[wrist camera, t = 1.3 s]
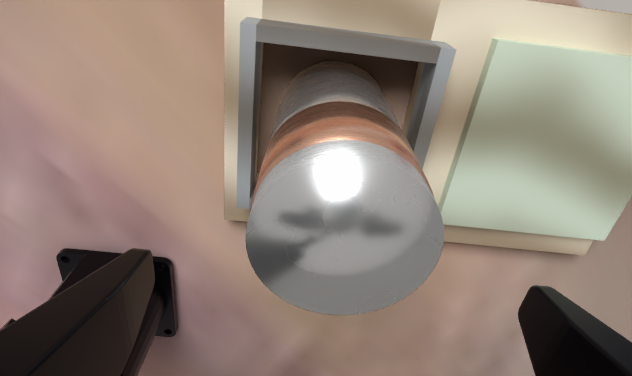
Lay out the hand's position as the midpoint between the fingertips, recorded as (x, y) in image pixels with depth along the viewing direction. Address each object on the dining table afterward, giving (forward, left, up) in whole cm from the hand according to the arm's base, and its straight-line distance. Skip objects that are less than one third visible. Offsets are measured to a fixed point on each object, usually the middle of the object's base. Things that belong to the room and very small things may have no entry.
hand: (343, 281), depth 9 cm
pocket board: (0, -5, -11) cm, 12 cm away
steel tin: (0, 0, -11) cm, 11 cm away
